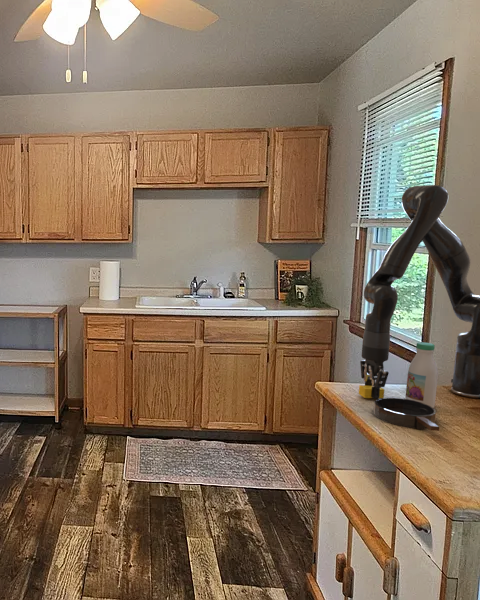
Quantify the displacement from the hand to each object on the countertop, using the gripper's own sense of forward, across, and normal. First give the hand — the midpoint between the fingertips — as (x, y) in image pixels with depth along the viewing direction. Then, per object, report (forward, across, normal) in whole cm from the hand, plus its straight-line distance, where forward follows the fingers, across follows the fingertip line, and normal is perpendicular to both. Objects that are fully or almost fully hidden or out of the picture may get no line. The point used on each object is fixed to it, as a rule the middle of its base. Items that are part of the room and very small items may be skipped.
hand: (371, 395), depth 163 cm
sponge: (0, 0, 0) cm, 0 cm away
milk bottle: (+1, -6, -11) cm, 13 cm away
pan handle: (+1, -28, -1) cm, 28 cm away
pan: (+1, -17, -1) cm, 17 cm away
